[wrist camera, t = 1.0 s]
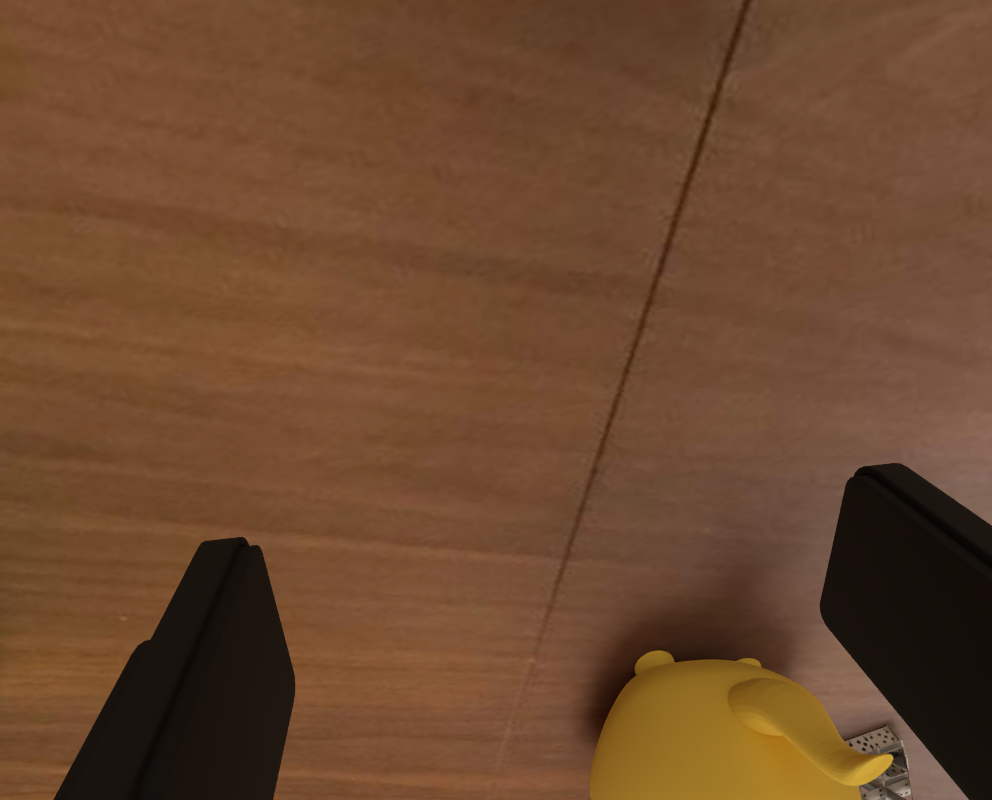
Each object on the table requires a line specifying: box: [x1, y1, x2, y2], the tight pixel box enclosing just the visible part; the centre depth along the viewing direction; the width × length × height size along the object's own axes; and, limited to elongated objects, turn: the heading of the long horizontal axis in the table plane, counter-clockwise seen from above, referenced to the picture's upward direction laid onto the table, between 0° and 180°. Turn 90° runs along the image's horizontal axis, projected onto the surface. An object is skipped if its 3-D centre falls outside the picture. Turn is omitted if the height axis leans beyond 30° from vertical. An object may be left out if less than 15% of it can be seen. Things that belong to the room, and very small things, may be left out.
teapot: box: [589, 651, 893, 800], centre depth 34 cm, size 14×20×13 cm
